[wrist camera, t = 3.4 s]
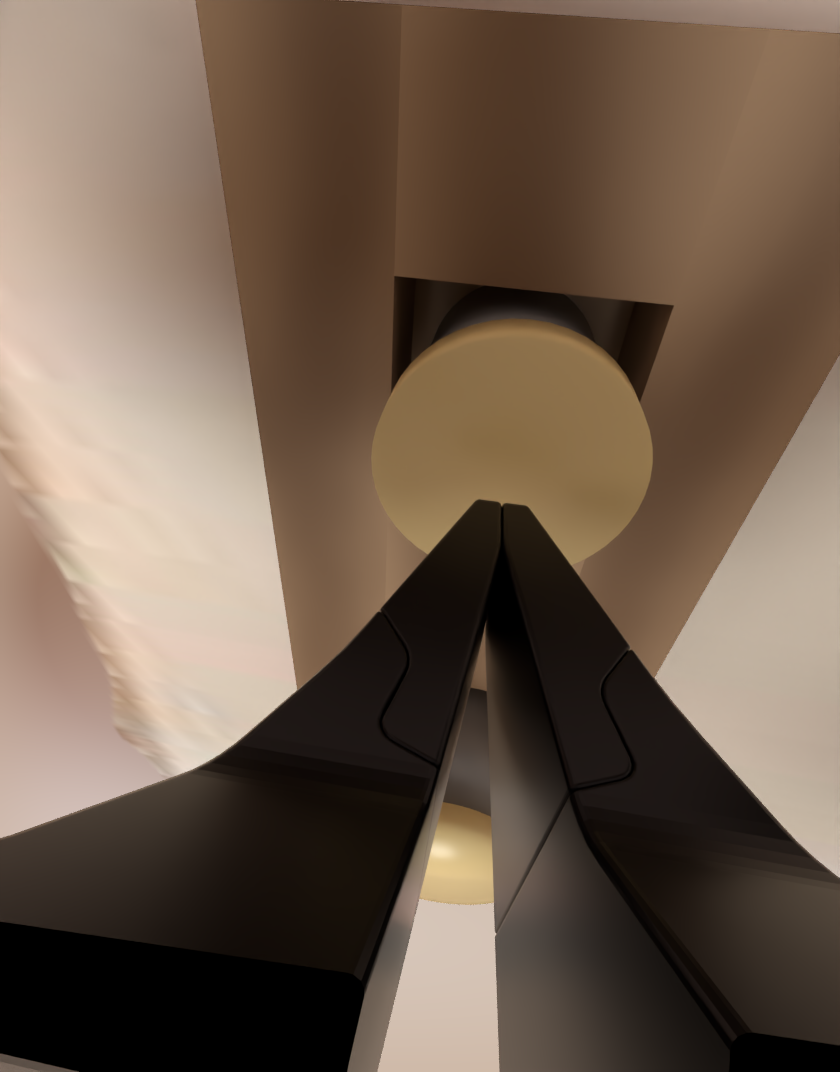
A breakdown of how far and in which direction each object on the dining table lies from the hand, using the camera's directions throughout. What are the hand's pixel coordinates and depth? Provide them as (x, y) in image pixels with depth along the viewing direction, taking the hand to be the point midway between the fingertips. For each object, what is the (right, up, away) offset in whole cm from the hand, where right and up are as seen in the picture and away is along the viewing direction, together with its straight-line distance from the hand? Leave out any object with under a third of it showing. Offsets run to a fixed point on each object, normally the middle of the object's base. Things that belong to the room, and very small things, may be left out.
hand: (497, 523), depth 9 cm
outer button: (+1, +4, +5) cm, 7 cm away
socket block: (+1, 0, +10) cm, 10 cm away
